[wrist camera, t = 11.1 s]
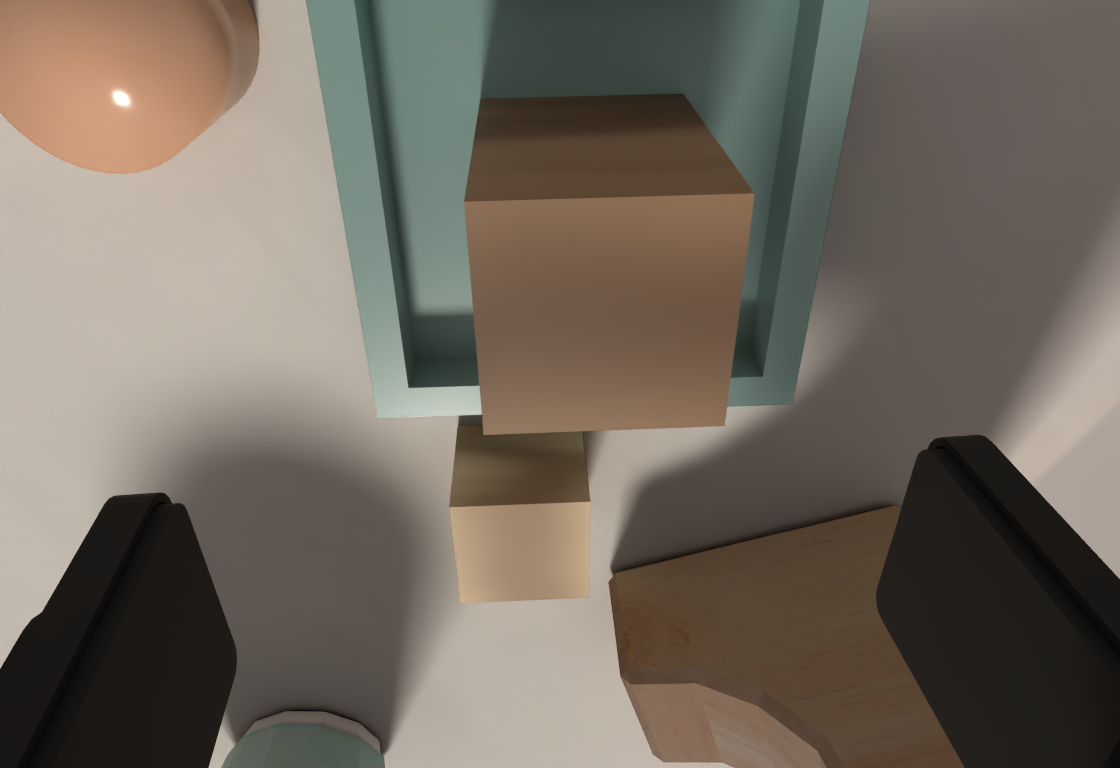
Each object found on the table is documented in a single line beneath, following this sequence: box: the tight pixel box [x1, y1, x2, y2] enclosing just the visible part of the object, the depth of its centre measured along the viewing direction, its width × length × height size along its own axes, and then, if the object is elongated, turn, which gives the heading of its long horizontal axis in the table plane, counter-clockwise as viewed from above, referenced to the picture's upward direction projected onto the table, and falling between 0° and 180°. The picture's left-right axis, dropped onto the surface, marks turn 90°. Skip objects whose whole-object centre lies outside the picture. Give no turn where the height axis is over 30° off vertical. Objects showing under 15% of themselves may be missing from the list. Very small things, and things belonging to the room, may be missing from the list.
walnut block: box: [464, 94, 755, 435], centre depth 18 cm, size 5×5×7 cm
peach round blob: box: [0, 0, 259, 174], centre depth 17 cm, size 4×4×4 cm
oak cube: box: [449, 424, 590, 603], centre depth 25 cm, size 4×4×4 cm
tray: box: [306, 0, 870, 418], centre depth 20 cm, size 12×12×2 cm
